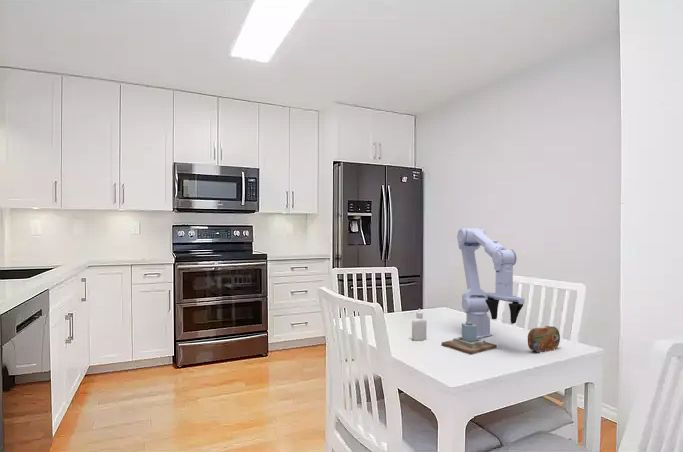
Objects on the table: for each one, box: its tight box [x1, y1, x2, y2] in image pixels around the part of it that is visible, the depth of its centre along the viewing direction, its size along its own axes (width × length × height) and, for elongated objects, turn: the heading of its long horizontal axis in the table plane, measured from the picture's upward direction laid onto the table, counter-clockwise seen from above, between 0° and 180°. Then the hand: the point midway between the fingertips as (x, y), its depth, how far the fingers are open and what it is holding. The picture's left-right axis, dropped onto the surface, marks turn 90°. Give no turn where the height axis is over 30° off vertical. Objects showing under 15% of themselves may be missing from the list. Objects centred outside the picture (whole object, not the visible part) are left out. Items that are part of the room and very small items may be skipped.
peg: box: [461, 320, 477, 343], centre depth 148 cm, size 4×4×8 cm
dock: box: [441, 336, 498, 355], centre depth 148 cm, size 15×13×2 cm
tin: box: [527, 325, 561, 354], centre depth 145 cm, size 15×3×8 cm, turn 117°
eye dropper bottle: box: [411, 308, 428, 342], centre depth 156 cm, size 4×6×12 cm
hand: (503, 321), depth 144 cm, fingers open, 7 cm apart
